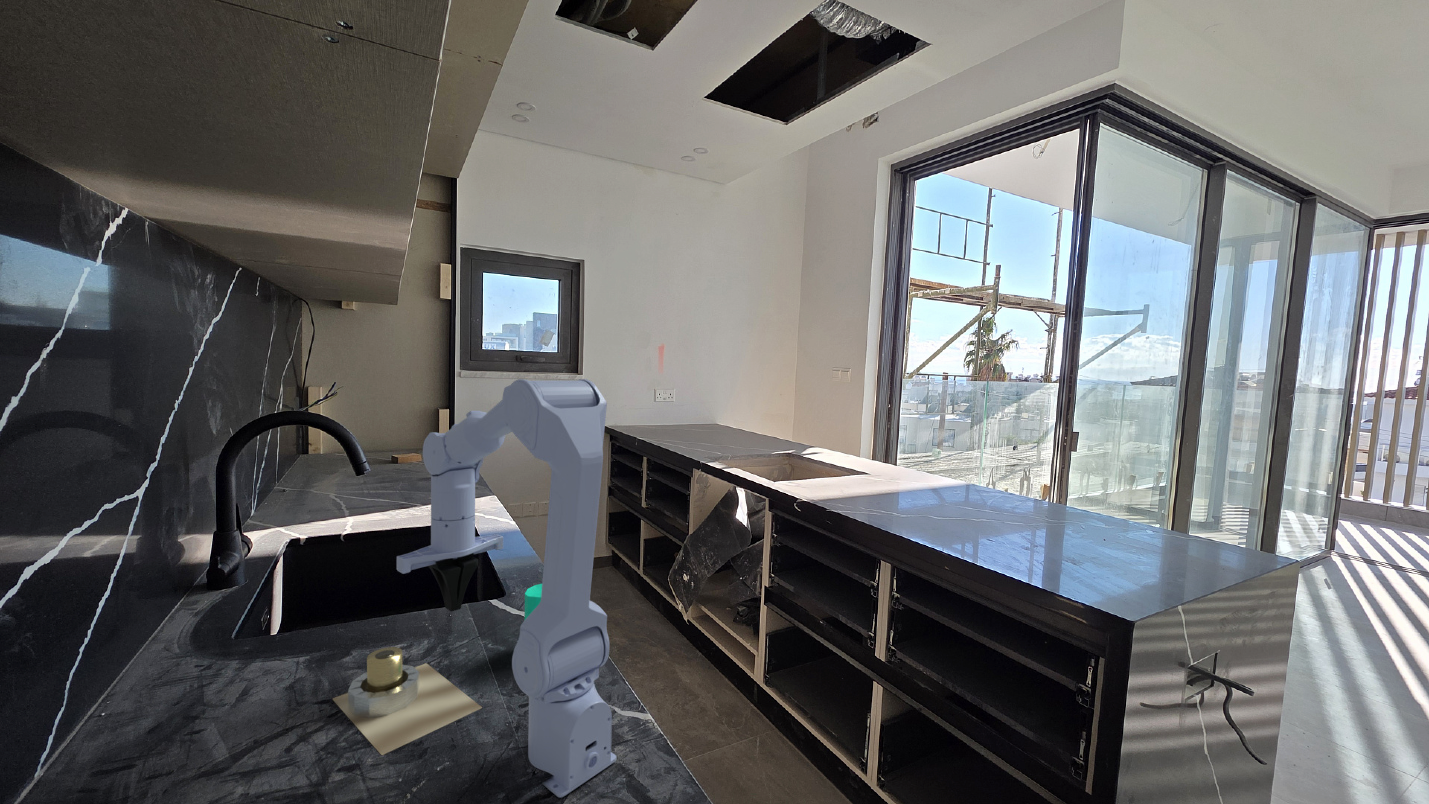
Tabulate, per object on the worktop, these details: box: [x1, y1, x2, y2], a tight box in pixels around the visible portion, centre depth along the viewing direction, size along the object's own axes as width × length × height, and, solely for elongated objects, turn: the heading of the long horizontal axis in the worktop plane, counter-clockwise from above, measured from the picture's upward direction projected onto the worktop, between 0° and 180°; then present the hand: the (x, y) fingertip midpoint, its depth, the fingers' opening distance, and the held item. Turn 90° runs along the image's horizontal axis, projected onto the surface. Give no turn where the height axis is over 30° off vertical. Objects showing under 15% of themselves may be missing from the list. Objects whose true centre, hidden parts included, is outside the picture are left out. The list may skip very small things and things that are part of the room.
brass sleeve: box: [366, 646, 403, 693], centre depth 74 cm, size 4×4×6 cm
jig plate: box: [332, 662, 483, 756], centre depth 74 cm, size 16×12×1 cm
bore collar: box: [347, 664, 419, 718], centre depth 74 cm, size 8×8×2 cm
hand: (453, 608), depth 82 cm, fingers closed
